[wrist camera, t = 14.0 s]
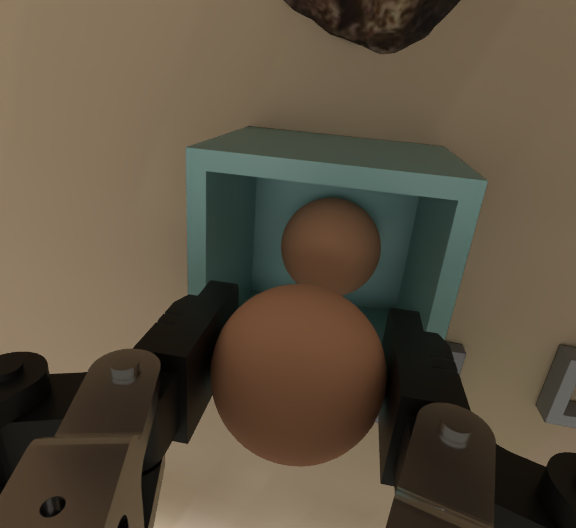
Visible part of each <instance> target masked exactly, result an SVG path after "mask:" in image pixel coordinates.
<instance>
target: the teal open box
mask: <svg viewBox="0 0 576 528" xmlns="http://www.w3.org/2000/svg"><path fill="white" fill-rule="evenodd" d="M487 183H488V181H487V180H486V179H485V178H484V177H482V176H481V175H480V174H478V173H477V172H476V171H475V170H473V169H472V168H471V167H469V166H468V165H467V164H466V163H464V162H463V161H462V160H461V159H459V158H458V157H457V156H455V155H454V154H453V153H452V152H450V151H449V150H448V149H446V148H445V147H444V146H437V145H427V144H417V143H407V142H398V141H388V140H378V139H368V138H359V137H349V136H339V135H329V134H320V133H310V132H300V131H290V130H281V129H271V128H261V127H251V126H248V127H245V128H242V129H239V130H236V131H233V132H230V133H227V134H224V135H221V136H218V137H215V138H212V139H209V140H206V141H203V142H200V143H197V144H194V145H191V146H188V147H186V196H187V260H188V295H189V294H191V295H197V296H198V295H199V293H200V292H201V291H202V290H203V289H204V287H205V286H206V285H207V284H208V282H209V281H210V280H215V281H221V282H228V283H235V284H238V287H239V304H238V308H239V307H240V306H242V305H243V304H244V303H245V302H247V301H248V300H249V299H251V298H252V297H254V296H255V295H257V294H259V293H261V292H264V291H266V290H268V289H271V288H274V287H278V286H283V285H289V284H297V283H296V282H295V281H294V280H293V279H292V278H291V276H290V275H289V273H288V272H287V270H286V268H285V265H284V263H283V259H282V253H281V242H282V236H283V232H284V229H285V227H286V225H287V223H288V221H289V220H290V218H291V217H292V216H293V215H294V213H295V212H296V211H297V210H299V209H300V208H301V207H303V206H304V205H306V204H308V203H310V202H312V201H314V200H317V199H321V198H329V197H332V198H341V199H345V200H348V201H351V202H353V203H355V204H357V205H358V206H360V207H361V208H362V209H364V210H365V211H366V212H367V213H368V214H369V215H370V217H371V218H372V219H373V221H374V223H375V225H376V227H377V229H378V232H379V235H380V240H381V253H380V259H379V262H378V265H377V267H376V270H375V271H374V273H373V275H372V276H371V277H370V279H369V280H368V281H367V282H366V283H365V284H364V285H363V286H361V287H360V288H359V289H357V290H355V291H354V292H351V293H349V294H346V295H342V296H343V297H344V298H346V299H347V300H349V301H350V302H351V303H353V304H354V305H355V306H356V307H357V308H358V309H359V310H360V311H361V312H362V313H363V314H364V315H365V316H366V317H367V319H368V320H369V321H370V323H371V324H372V325H373V327H374V329H375V331H376V333H377V335H378V337H379V339H380V342H381V344H382V341H383V336H384V331H385V326H386V321H387V316H388V312H389V309H390V307H392V308H399V309H405V310H412V311H418V312H419V313H420V317H421V321H422V325H423V330H424V331H426V332H433V333H438V334H439V335H440V336H441V337H442V338H443V339H444V340H445V338H446V335H447V331H448V327H449V324H450V320H451V316H452V312H453V309H454V305H455V301H456V298H457V294H458V290H459V286H460V283H461V279H462V275H463V272H464V268H465V264H466V260H467V257H468V253H469V249H470V246H471V242H472V238H473V234H474V231H475V227H476V223H477V220H478V216H479V212H480V208H481V205H482V201H483V197H484V194H485V190H486V186H487Z"/></svg>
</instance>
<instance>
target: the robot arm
mask: <svg viewBox="0 0 576 528" xmlns="http://www.w3.org/2000/svg"><path fill="white" fill-rule="evenodd" d="M238 304H239V287H238V284H235V283H228V282H221V281H215V280H210V281H209V282H208V284H207V285H206V286H205V287H204V289H203V290H202V291H201V292H200V293H199V295H198V296H197V295H191V294H189V295H187V296H185V297H183V298H181V299H179V300H177V301H175V302H174V303H173V304H172V305H171V306H170V307H169V308H168V310H167V311H166V312H165V314H163V315H162V316H161V317H160V318H159V320H158V322H157V323H155V324H154V325H153V326H152V327H151V329H150V330H149V331H148V332H147V333H146V334H145V335H144V336H143V337H142V339H141V340H140V341H139V342H138V343H137V344H136V345H135V346H134V348H133V349H122V350H117V351H114V352H111V353H108V354H106V355H104V356H102V357H100V358H99V359H97V360H96V361H95V362H94V363H93V364H92V365H91V367H90V368H89V370H88V372H83V373H63V374H49V369H48V363H47V361H46V359H45V358H44V357H43V356H41V355H39V354H37V353H32V352H12V353H7V354H3V355H0V528H153V526H154V521H155V516H156V511H157V505H158V500H159V495H160V490H161V484H162V479H163V474H164V469H165V453H166V451H167V449H168V448H169V446H170V444H171V442H172V441H176V442H181V443H186V444H188V443H189V441H190V439H191V437H192V435H193V433H194V431H195V429H196V427H197V425H198V423H199V421H200V419H201V417H202V415H203V413H204V411H205V409H206V407H207V405H208V403H209V401H210V399H211V397H212V395H213V394H212V389H211V378H210V373H211V360H212V356H213V351H214V347H215V344H216V342H217V339H218V337H219V335H220V333H221V330H222V329H223V327H224V325H225V324H226V322H227V321H228V320H229V318H230V317H231V316H232V315H233V313H234V312H235V311H236V310H237V309H238ZM382 347H383V350H384V355H385V360H386V366H387V385H386V393H385V397H384V401H383V404H382V407H381V410H380V412H379V414H378V422H379V452H380V481H381V484H385V485H390V486H394V487H395V496H394V500H393V503H392V507H391V510H390V514H389V518H388V521H387V525H386V528H576V453H571V452H564V453H558V454H556V455H554V456H552V457H551V458H550V460H549V461H548V464H547V466H546V467H545V466H543V465H540V464H538V463H535V462H533V461H530V460H528V459H526V458H523V457H521V456H518V455H516V454H514V453H512V452H509V451H507V450H506V449H504V448H502V447H500V446H499V445H497V444H496V440H495V436H494V434H493V432H492V430H491V428H490V427H489V426H488V425H487V424H486V423H485V422H484V421H483V420H482V419H481V418H480V417H479V416H477V415H476V414H474V413H473V412H471V410H470V407H469V404H468V401H467V398H466V395H465V392H464V388H463V385H462V382H461V379H460V376H459V373H458V370H457V367H456V363H455V362H454V357H453V354H452V351H451V348H450V346H449V345H448V343H447V342H446V341H445V340H444V339H443V338H442V337H441V336H440V335H439V334H438V333H433V332H426V331H424V330H423V325H422V321H421V317H420V313H419V312H418V311H412V310H405V309H399V308H392V307H390V309H389V312H388V316H387V321H386V326H385V331H384V336H383V341H382Z"/></svg>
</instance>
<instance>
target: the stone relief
mask: <svg viewBox="0 0 576 528" xmlns="http://www.w3.org/2000/svg"><path fill="white" fill-rule="evenodd" d="M284 1H285V2H286V3H287V4H288V5H289V6H290V7H291V8H292V9H293V10H295V11H296V12H298V13H300V14H302V15H304V16H306V17H308V18H311V19H312V20H314V21H315V22H316V23H317V24H318V25H319V26H320V27H322V28H323V29H324V30H325V31H327V32H328V33H329V34H331V35H334V36H338V37H341V38H344V39H347V40H349V41H352V42H354V43H357V44H359V45H363V46H364V47H366V48H368V49H371V50H373V51H375V52H377V53H380V54H390V53H396V52H398V51H400V50H402V49H404V48H406V47H408V46H409V45H411V44H413V43H415V42H417V41H419V40H421V39H423V38H425V37H426V36H427V35H429V33H430V32H431V31H432V29H433V28H434V27H435V26H436V25H437V24H438V23H439V22H440V21H441V20H442V19H443V18H444V17H445V16H446V15H447V14H448V13H449V12H450V11H451V10H452V9H453V8H454V7H455V6H456V5H457V3H458V2H459V1H460V0H284Z"/></svg>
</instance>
